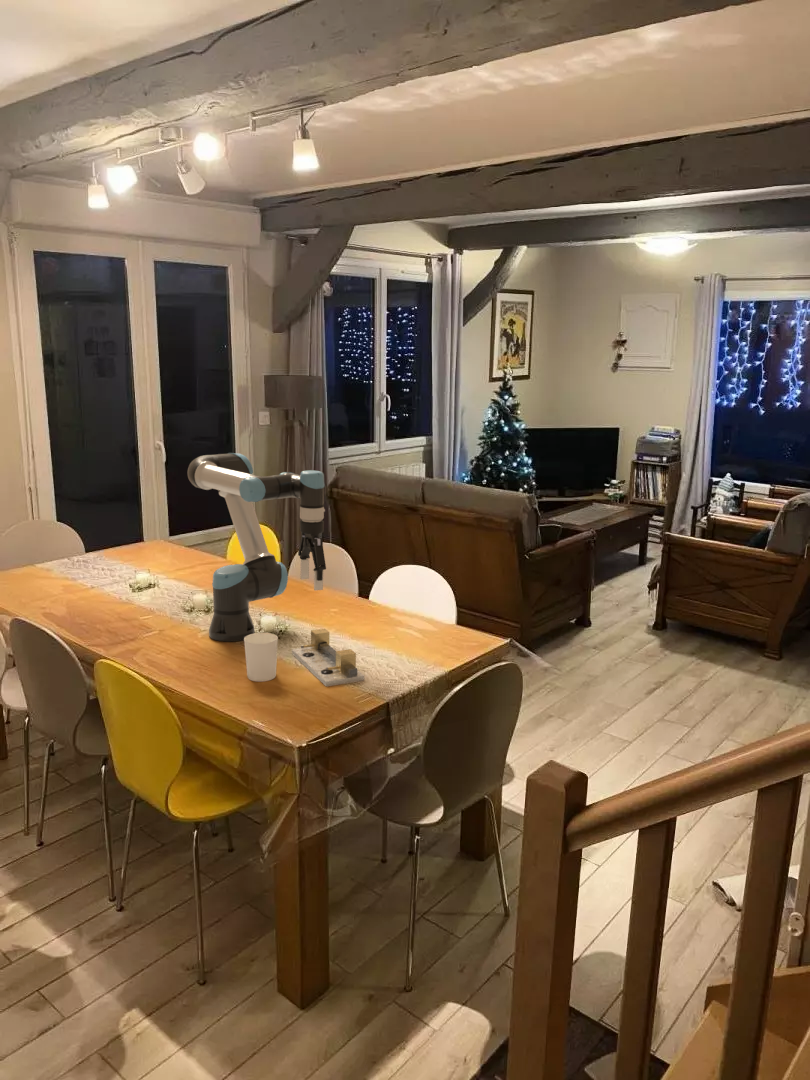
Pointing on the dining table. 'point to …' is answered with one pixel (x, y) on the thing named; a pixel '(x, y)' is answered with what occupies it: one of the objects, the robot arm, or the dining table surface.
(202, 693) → the dining table surface
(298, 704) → the dining table surface
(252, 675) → the candle holder
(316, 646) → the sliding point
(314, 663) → the bolt plate
